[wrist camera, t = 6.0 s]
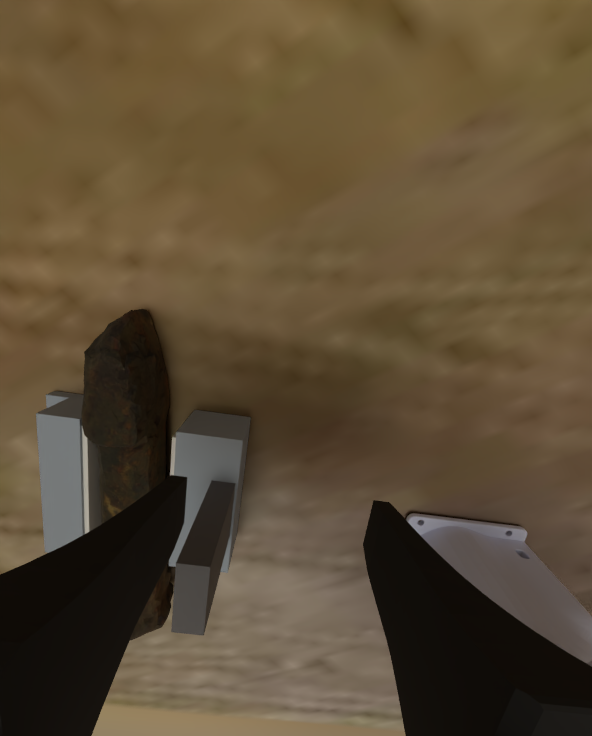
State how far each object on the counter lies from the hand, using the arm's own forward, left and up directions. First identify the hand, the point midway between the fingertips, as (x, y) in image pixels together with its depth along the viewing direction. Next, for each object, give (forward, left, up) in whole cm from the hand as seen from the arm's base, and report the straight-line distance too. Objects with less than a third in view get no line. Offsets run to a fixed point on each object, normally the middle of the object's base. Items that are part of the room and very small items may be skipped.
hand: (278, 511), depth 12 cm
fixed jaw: (+13, +6, -10) cm, 18 cm away
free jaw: (+4, +6, -10) cm, 13 cm away
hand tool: (+10, +6, -11) cm, 16 cm away
